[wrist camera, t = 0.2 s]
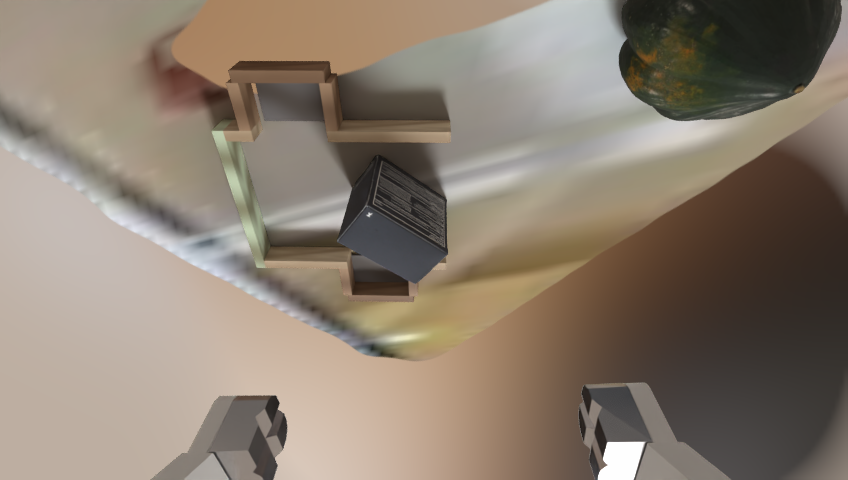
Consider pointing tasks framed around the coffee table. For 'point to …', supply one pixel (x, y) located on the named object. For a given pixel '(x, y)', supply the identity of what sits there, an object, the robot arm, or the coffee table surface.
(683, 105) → the squash
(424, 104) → the coffee table surface
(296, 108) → the trap lane
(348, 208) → the small box
